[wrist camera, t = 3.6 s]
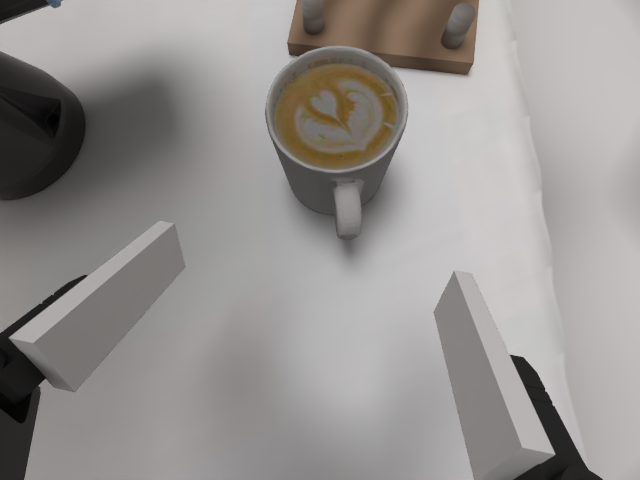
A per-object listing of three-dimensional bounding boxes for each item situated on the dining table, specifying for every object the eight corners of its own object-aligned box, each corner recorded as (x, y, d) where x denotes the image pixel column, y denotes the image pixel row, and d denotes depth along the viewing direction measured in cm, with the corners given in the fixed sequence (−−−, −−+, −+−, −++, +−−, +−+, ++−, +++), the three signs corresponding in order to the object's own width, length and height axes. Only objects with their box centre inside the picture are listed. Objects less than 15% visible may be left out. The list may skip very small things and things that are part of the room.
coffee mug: (292, 125, 30) (272, 43, 20) (383, 128, 29) (409, 46, 19) (280, 245, 27) (251, 220, 18) (379, 251, 27) (407, 228, 17)
